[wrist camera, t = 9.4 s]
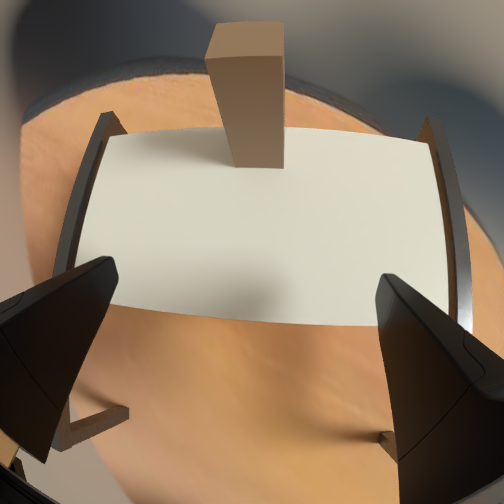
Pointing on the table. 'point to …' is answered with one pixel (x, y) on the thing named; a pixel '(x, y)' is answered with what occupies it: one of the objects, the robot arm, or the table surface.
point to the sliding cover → (264, 206)
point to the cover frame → (453, 232)
